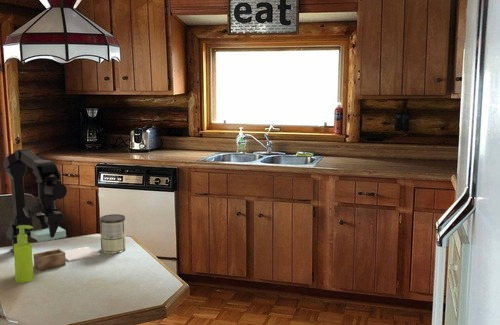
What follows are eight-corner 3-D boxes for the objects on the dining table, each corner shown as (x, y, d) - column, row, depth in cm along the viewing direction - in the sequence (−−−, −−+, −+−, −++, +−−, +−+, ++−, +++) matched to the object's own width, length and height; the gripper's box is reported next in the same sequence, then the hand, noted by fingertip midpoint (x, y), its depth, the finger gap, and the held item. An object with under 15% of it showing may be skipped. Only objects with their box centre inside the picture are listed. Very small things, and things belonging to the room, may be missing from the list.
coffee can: (96, 249, 234) (95, 216, 232) (119, 244, 240) (118, 212, 238) (107, 255, 226) (106, 221, 224) (130, 250, 233) (129, 217, 230)
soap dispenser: (30, 283, 195) (27, 228, 192) (12, 282, 196) (9, 227, 193) (39, 277, 201) (36, 224, 198) (21, 276, 202) (18, 222, 199)
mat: (57, 253, 227) (57, 252, 227) (87, 247, 235) (87, 246, 235) (68, 261, 218) (68, 260, 218) (99, 255, 226) (99, 253, 226)
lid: (37, 242, 205) (37, 235, 205) (31, 237, 211) (30, 231, 210) (66, 237, 212) (65, 230, 212) (59, 232, 218) (58, 226, 217)
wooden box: (39, 270, 208) (38, 257, 207) (34, 266, 212) (33, 253, 212) (65, 265, 214) (65, 252, 213) (59, 261, 219) (59, 248, 218)
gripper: (16, 193, 211) (18, 233, 213) (33, 202, 197) (35, 244, 199) (45, 189, 218) (47, 228, 220) (64, 198, 204) (66, 239, 206)
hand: (48, 235), depth 211 cm, fingers closed on lid, 7 cm apart
